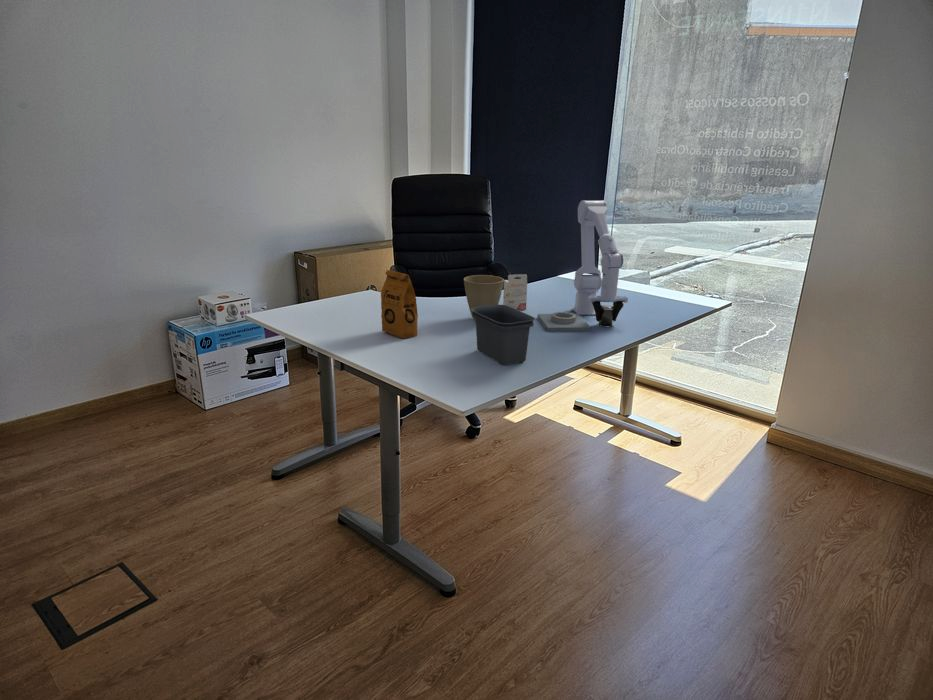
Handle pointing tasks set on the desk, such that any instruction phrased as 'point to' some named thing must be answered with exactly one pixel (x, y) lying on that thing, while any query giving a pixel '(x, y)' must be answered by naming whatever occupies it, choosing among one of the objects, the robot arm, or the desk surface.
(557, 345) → the desk surface
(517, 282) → the ink cartridge box
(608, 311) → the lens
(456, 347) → the desk surface
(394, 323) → the coffee package
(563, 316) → the mount plate
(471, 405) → the desk surface
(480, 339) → the storage bin
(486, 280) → the plant pot
